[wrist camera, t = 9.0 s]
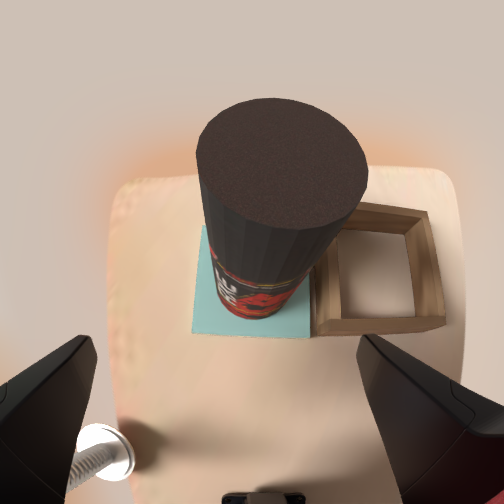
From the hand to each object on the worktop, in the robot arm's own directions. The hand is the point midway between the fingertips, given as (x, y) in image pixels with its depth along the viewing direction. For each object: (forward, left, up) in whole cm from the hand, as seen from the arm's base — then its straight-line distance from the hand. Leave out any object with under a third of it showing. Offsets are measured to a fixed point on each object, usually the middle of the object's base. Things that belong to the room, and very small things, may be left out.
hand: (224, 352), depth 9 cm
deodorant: (+6, -2, -13) cm, 15 cm away
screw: (-8, +9, -14) cm, 19 cm away
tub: (+8, -12, -14) cm, 20 cm away
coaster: (+7, -2, -14) cm, 15 cm away
